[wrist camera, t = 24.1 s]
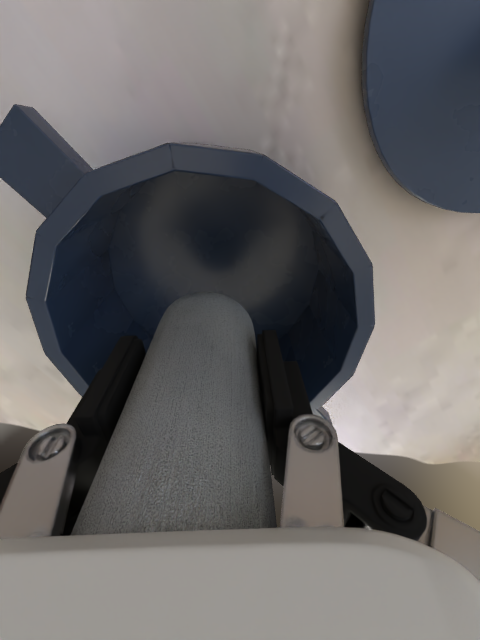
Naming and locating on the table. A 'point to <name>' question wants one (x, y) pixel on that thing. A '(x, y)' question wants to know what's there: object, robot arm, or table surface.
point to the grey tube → (188, 431)
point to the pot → (185, 251)
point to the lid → (426, 97)
